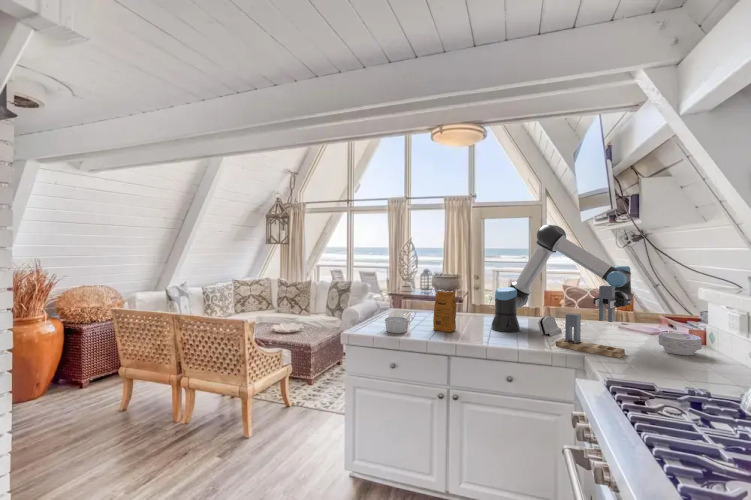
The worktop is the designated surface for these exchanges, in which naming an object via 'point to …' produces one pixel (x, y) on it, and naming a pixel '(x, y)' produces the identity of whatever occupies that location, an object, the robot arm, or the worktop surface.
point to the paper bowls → (680, 343)
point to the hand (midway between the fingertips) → (603, 304)
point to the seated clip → (575, 322)
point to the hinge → (548, 326)
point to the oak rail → (592, 348)
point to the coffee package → (445, 312)
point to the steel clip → (604, 294)
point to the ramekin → (396, 324)
